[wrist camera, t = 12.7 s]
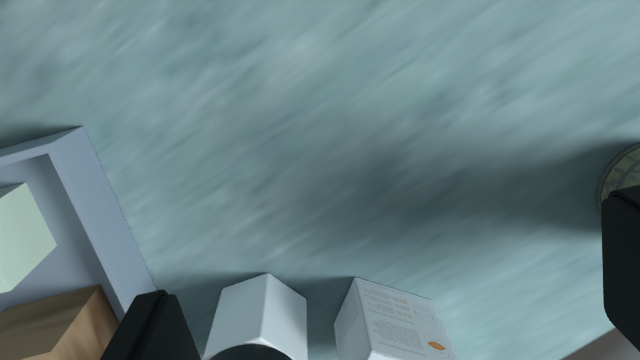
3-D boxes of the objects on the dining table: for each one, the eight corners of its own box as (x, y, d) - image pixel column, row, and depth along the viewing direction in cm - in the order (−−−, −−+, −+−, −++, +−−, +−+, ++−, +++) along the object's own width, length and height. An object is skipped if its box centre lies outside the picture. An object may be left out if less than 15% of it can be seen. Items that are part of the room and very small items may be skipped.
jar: (196, 317, 46) (162, 419, 34) (249, 256, 44) (231, 344, 32) (272, 365, 48) (263, 476, 36) (325, 309, 46) (333, 409, 34)
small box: (332, 322, 46) (340, 409, 36) (354, 274, 45) (369, 350, 35) (408, 345, 47) (437, 434, 38) (432, 298, 46) (469, 379, 36)
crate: (-113, 180, 40) (-171, 204, 35) (83, 125, 39) (51, 142, 34) (13, 385, 47) (-21, 428, 42) (180, 343, 46) (166, 382, 42)
